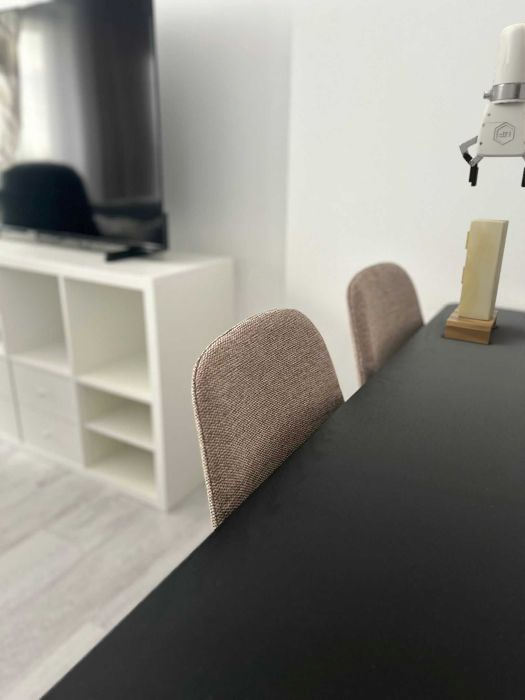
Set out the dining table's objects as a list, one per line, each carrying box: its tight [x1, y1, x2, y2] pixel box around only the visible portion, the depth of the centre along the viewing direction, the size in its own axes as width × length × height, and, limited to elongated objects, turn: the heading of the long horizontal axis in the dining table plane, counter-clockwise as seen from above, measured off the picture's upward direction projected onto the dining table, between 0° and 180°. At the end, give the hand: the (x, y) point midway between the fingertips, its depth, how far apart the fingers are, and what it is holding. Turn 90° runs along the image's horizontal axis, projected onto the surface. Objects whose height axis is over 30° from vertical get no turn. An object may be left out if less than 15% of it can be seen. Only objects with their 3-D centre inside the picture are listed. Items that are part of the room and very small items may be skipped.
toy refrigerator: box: [458, 218, 510, 321], centre depth 113 cm, size 8×7×21 cm
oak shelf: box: [443, 304, 499, 345], centre depth 117 cm, size 16×9×4 cm, turn 151°
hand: (497, 186), depth 108 cm, fingers open, 9 cm apart
